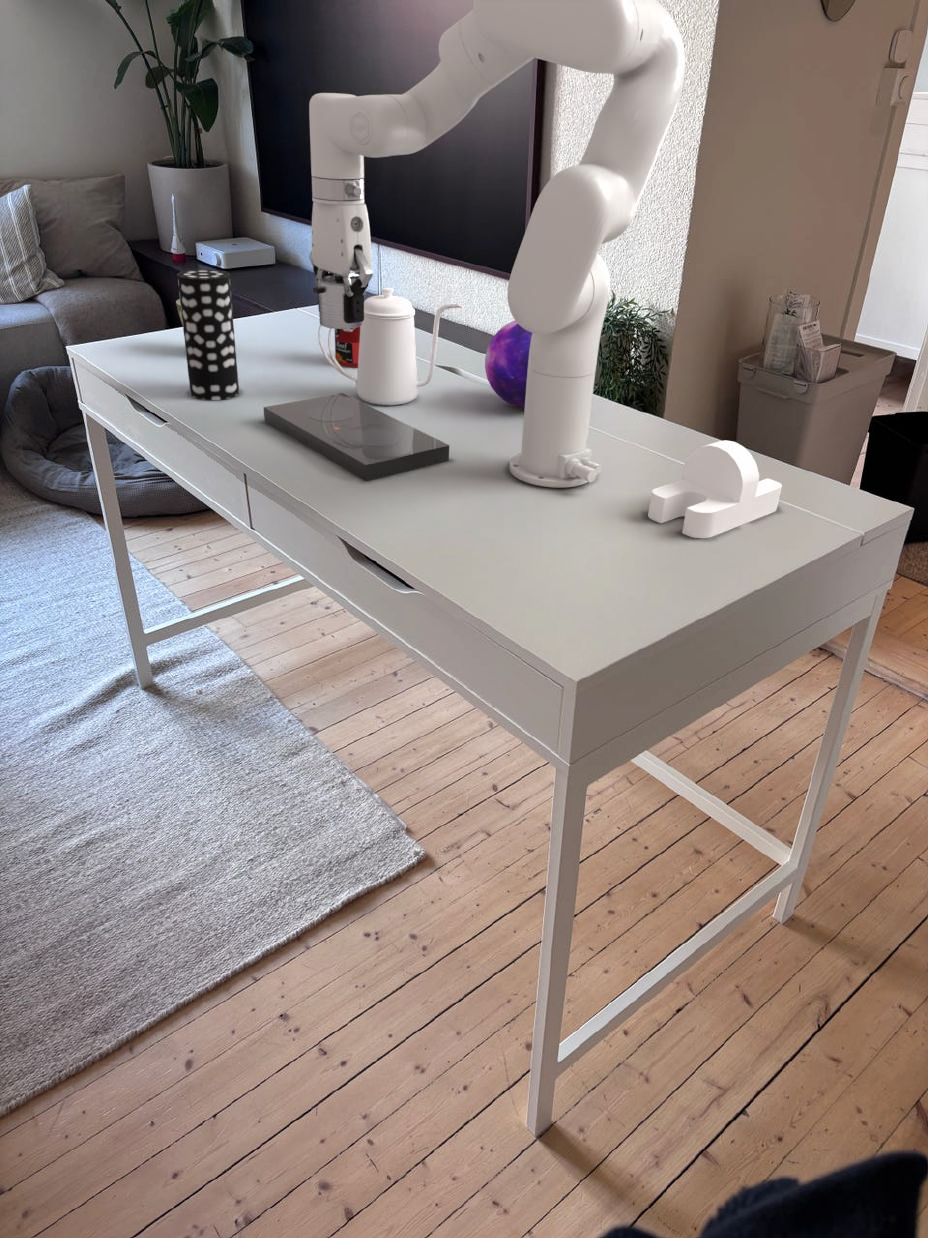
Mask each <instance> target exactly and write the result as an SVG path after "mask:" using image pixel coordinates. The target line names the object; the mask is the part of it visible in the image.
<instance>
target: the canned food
mask: <svg viewBox="0 0 928 1238" xmlns="http://www.w3.org/2000/svg"><path fill="white" fill-rule="evenodd" d="M359 343H360V327H357V328H352V329H334V351H335V352H334V354H335V355H334V357H335V358H336V360H337V362H338V363H339V364H340V366H341V367H347V368H358V359H359Z"/></svg>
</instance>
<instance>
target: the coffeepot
mask: <svg viewBox="0 0 928 1238" xmlns="http://www.w3.org/2000/svg"><path fill="white" fill-rule="evenodd" d="M380 291H381V293H383V294H380V295H379V294H378V295H373V296H369V297H367V298H366V299H364V321H363V324H362V326H360V343H359V359H358V367H357V378H356V377H354V376H353V375H352V374H351V373H348V372H347V371H346V370H345V369H344V368H343V366H342V365H340V364H339V363H338V362H337V360H336V358H335V355H334V354H335V353H334V351H333V349H332V341H331V339H332V338H331V337H332V329H333V328H329V330H328V336H327V347H328V351H329V355H330V356H329V355H328V354H327V352H326V350H325V347H324V344H323V340H322V328H323V326H322V325H320V324H319V327H318V333H317V334H318V335H317V337H318V338H317V339H318V345H319V348H320V349H321V352H322V354H323V356H324V358H325V359H326V361H327V362H328V364H329V365H330V366H331V367H332V368H333V369H334V370H336V371H337V372H338V373H339V374H341V375H343V376H344V377H345V378H347V379H349V380H351V381H353V382H355V390H356V394H357V396H358V397H359V398H360V399H361V400H362V401H364V402H366V403H370V404H373V405H379V406H400V405H404V404H408V403H411V402H413V401H414V400H415V399H416V398H417V397H418V395H419V388H421V387H424V386H426V385H428V384H429V383H430V382H431V380H432V379H433V376H434V371H435V366H436V355H437V346H438V337H439V329H440V328H439V327H440V319H441V316H442V313H443V312H445V311H447V310H449V309H464V308H465V307H464V306H463V305H461V304H460V303H457V302H448V303H444V304H443V305H441V306H440V307H438V309H437V310H436V312H435V315H434V320H433V321H434V322H433V330H432V340H431V349H430V356H429V357H430V358H429V365H428V366H429V367H428V371H427V375H426V378H424V380H421V381H418V366H417V363H418V362H417V349H416V346H417V345H416V332H415V331H416V330H415V328H416V327H415V315H416V309H415V308H414V307H413V305H412V302H411V301H410V300H409V299H407V298H406V297H403V296H399V295H392V294H393V293H394V292H395V289H394V288H393V287H386V286H385V287H381V289H380ZM330 357H331V358H330Z"/></svg>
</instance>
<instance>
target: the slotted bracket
mask: <svg viewBox="0 0 928 1238" xmlns="http://www.w3.org/2000/svg"><path fill="white" fill-rule="evenodd" d="M782 488H783V485H782V483H780V482H779V481H776V480H774V479H771V478H764V479H762V480H760V473H759V469H758V464H757V462H756V460H755V458H754V456H753V454H751V452H750V451H748V449H747V448H746V447H745V446H743V445H741V444H739V443H738V442H736V441H732V440H726V439H725V440H720V441H715V442H711V443H709V444H706V445H702V446H699V447H698V448H696V449H695V450H693V451H691V452H690V453H689V455H688V456H687V458H686V459H685V462H684V465H683V470H682V476H681V479H679V480H677V481H673V482H671V483H667V484H665V485H661V486H658V487H656V488H653V489H652V490H651V494H650V500H649V506H648V513H647V517H648V518H649V519H650V520H652V521H654V522H657V523H658V524H664V523H666V522H669V521H672V520H674V519H677V518H679V517H684V521H683V525H682V532H681V534H683V535H686V536H687V537H689V538H694V539H709V538H713V537H715V536H718V535H720V534H722V533H725V532H727V531H730V530H732V529H735V528H738V527H740V526H743V525H745V524H748V523H750V522H753V521H755V520H757V519H761V518H763V517H765V516H768V515H770V514H772V513H775V512H776V511H777V510H778V509H777V508H778V505H779V502H780V501H779V500H780V496H781V491H782Z"/></svg>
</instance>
